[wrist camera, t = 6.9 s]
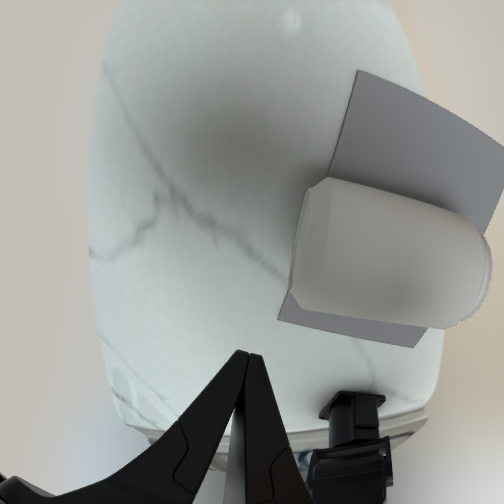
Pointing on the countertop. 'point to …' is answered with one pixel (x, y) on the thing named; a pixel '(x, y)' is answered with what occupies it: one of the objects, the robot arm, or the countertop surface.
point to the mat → (408, 177)
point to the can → (387, 258)
